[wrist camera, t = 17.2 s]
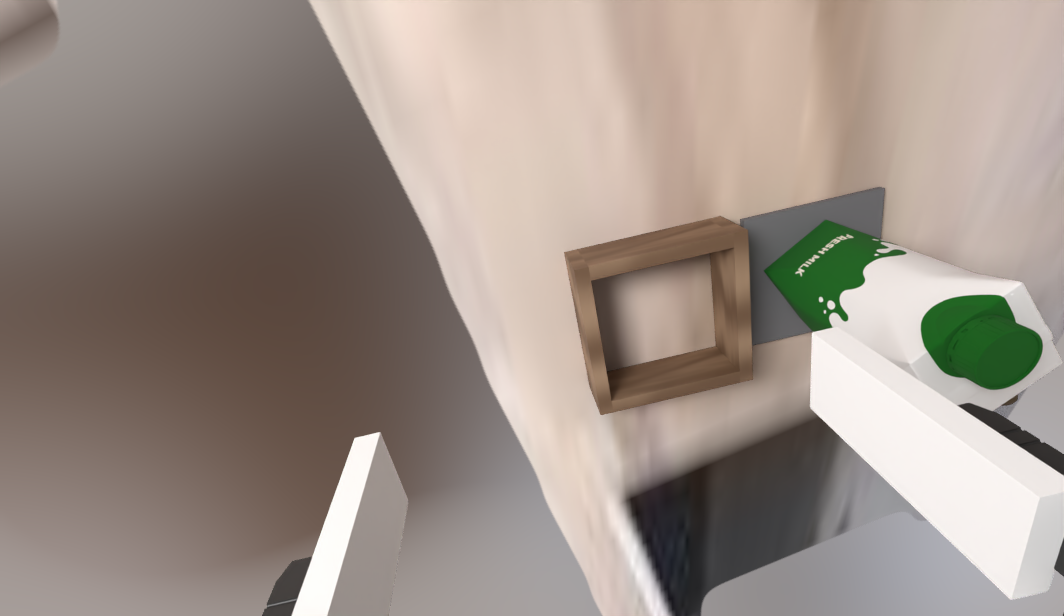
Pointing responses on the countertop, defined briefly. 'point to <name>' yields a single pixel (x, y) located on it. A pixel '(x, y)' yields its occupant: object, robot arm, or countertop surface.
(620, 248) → the collar
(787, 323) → the rubber mat
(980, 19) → the countertop surface
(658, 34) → the countertop surface
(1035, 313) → the soya milk
